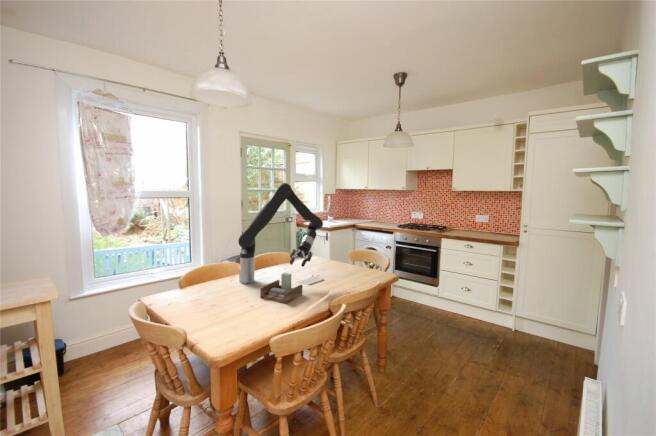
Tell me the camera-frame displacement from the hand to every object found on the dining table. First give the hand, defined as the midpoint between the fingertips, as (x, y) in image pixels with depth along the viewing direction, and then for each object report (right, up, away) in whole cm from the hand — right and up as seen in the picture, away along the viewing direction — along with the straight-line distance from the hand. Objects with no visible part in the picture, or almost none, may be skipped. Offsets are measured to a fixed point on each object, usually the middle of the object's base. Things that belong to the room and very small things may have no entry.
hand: (296, 265), depth 176 cm
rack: (-7, -17, -12) cm, 22 cm away
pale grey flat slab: (+2, -16, +15) cm, 22 cm away
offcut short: (-9, -14, -14) cm, 21 cm away
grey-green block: (-5, -16, -8) cm, 18 cm away
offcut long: (-8, -16, -14) cm, 23 cm away
